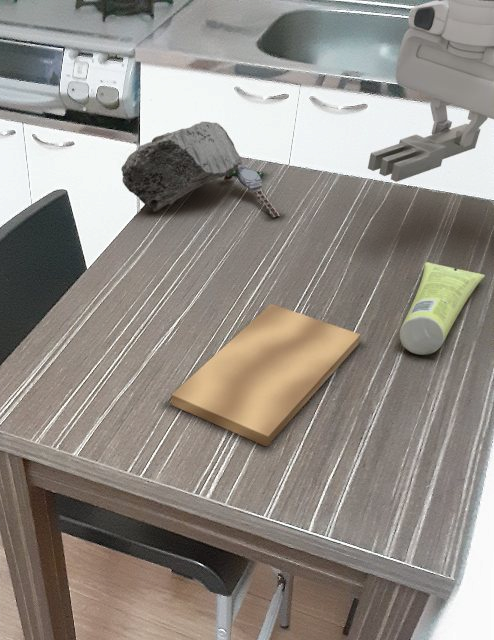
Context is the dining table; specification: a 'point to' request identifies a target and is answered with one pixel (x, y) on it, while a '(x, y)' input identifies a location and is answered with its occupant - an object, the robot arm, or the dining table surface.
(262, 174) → the circuit board
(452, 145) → the fork
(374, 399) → the dining table surface
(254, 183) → the wristwatch
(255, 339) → the board
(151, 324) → the dining table surface
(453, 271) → the tube
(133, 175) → the stone
